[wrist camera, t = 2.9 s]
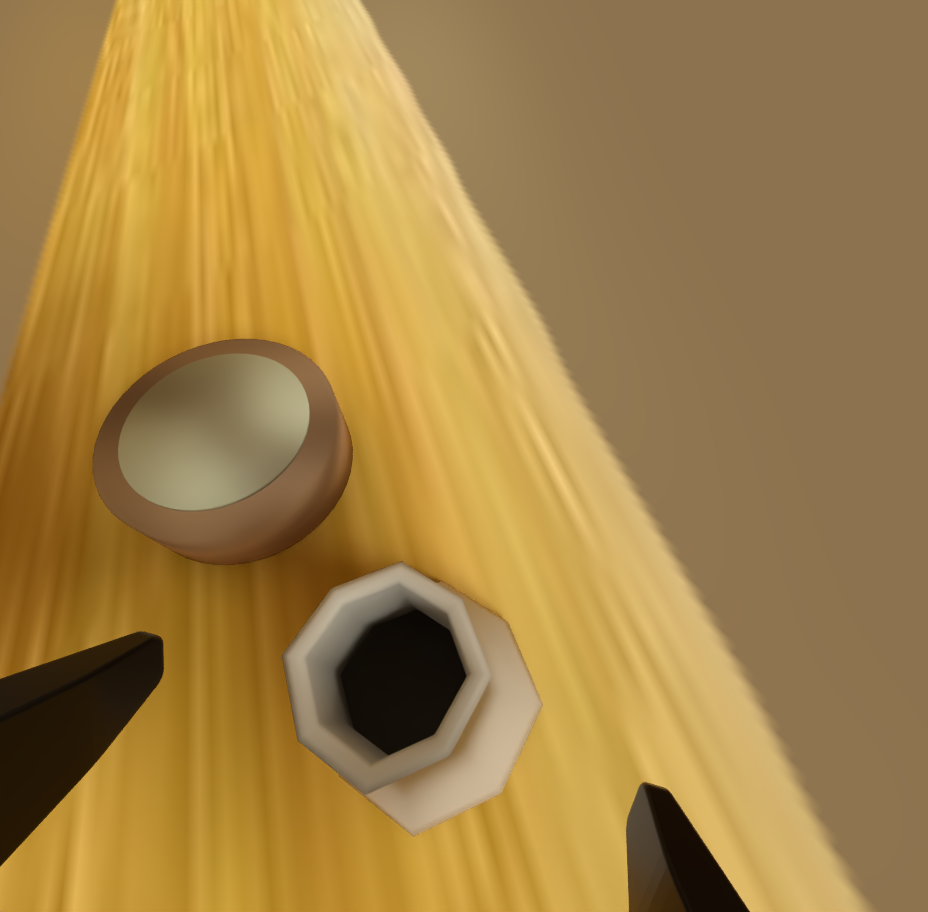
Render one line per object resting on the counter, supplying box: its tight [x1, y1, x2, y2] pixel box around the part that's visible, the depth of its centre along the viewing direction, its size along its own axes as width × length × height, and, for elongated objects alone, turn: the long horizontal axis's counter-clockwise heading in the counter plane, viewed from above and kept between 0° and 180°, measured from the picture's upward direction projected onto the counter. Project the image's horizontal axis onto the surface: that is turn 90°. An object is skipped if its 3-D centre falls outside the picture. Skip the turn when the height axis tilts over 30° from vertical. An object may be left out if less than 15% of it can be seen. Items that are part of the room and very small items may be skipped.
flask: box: [282, 561, 543, 836], centre depth 12 cm, size 7×7×10 cm
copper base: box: [93, 339, 353, 565], centre depth 19 cm, size 9×9×3 cm
